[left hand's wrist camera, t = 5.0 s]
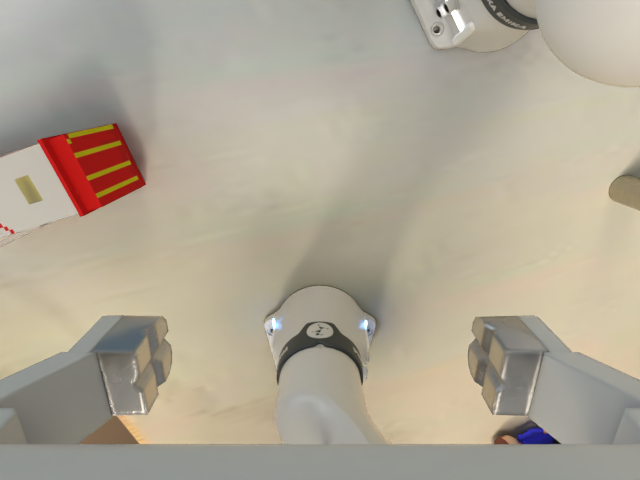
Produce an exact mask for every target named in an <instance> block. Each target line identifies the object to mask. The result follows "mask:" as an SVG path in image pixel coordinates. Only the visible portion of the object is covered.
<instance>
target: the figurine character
mask: <svg viewBox="0 0 640 480" xmlns="http://www.w3.org/2000/svg"><path fill="white" fill-rule="evenodd" d="M517 440H518V441H517ZM517 440H516V439H515V438H513V437H511V436H508V435H502V436H499V437H498V438H497V439H496V440H495V443H494V444H561V443H560V442H558V441H557V440H556V439H555V438H553V437H552V436H551V435H550V434H548V433H547V432H546V431H545V430H543V429H542V428H530V429H529V430H528V431H526V432H525V433H523V434H519V435H518V438H517Z"/></svg>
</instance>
